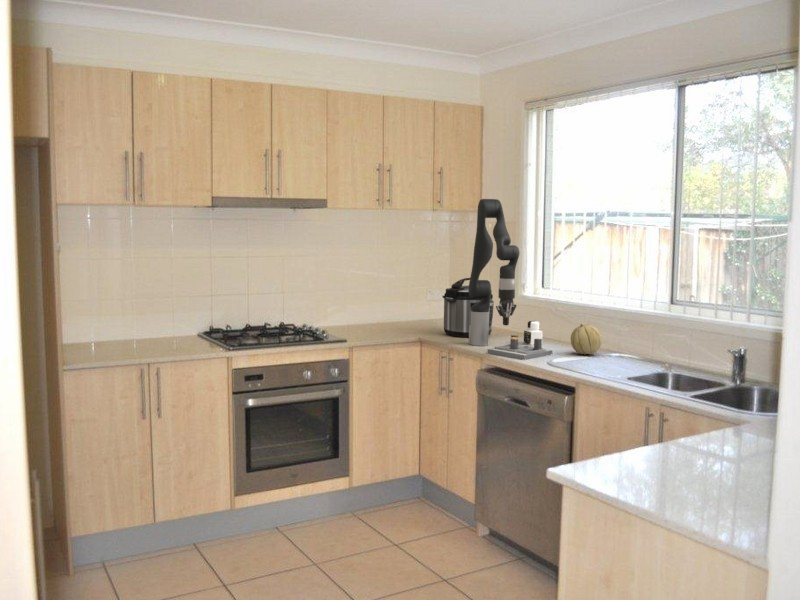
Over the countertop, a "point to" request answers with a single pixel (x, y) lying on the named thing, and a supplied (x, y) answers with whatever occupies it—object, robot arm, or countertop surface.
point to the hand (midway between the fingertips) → (505, 325)
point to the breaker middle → (514, 343)
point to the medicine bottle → (532, 332)
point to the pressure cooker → (461, 309)
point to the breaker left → (514, 336)
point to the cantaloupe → (586, 339)
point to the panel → (519, 352)
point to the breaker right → (537, 344)
